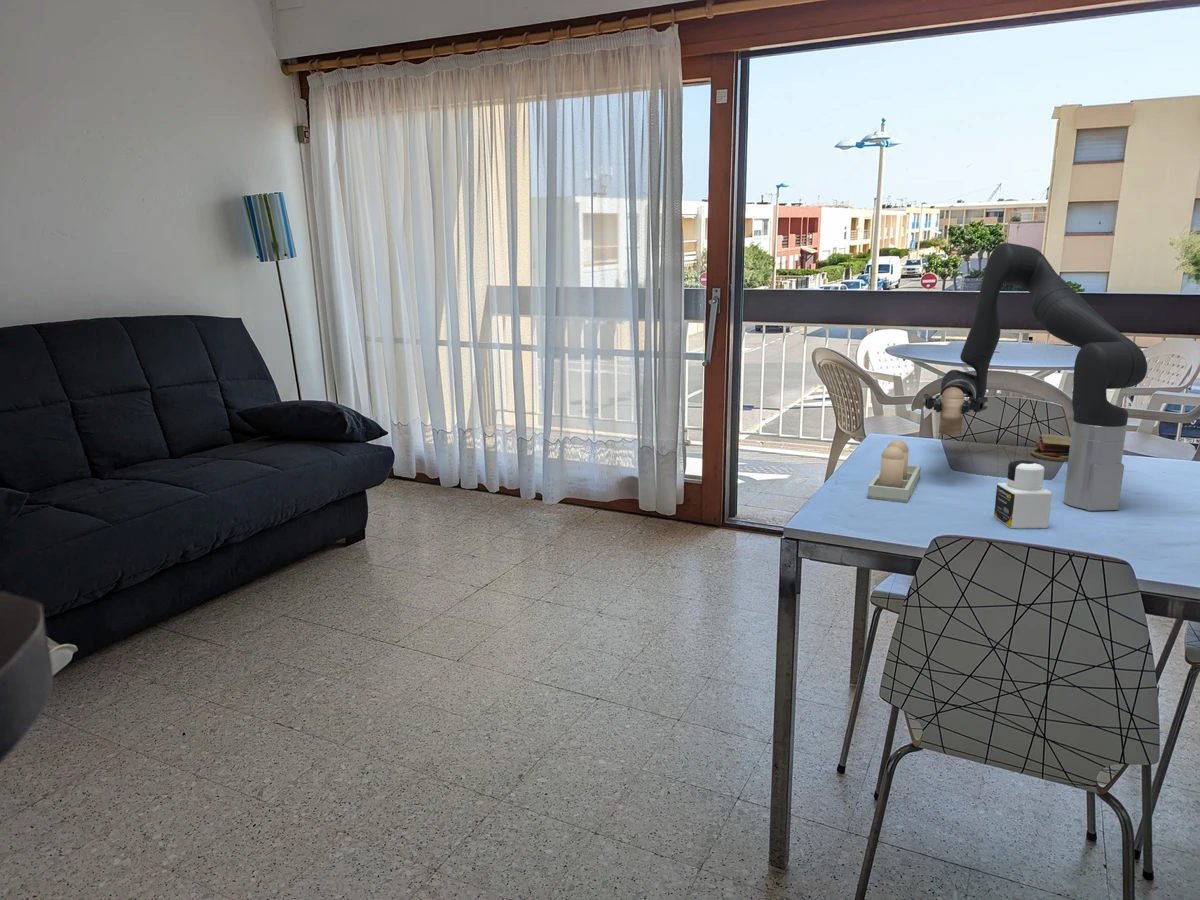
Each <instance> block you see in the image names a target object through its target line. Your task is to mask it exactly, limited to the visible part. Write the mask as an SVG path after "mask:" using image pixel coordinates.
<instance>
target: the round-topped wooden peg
mask: <svg viewBox="0 0 1200 900" xmlns="http://www.w3.org/2000/svg"><path fill="white" fill-rule="evenodd" d="M963 403H964V393H963V392H962V390H960V389H959V388H956V387H950V388H948V389H946V390H945V391H944V392H943V394H942V398H941V411H940V412H939V413H940V414H939V425H938V433H939V434H941V435H945V436H959V435H962V428H963V426H962V425H963V417H964V414H962V404H963Z"/></svg>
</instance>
